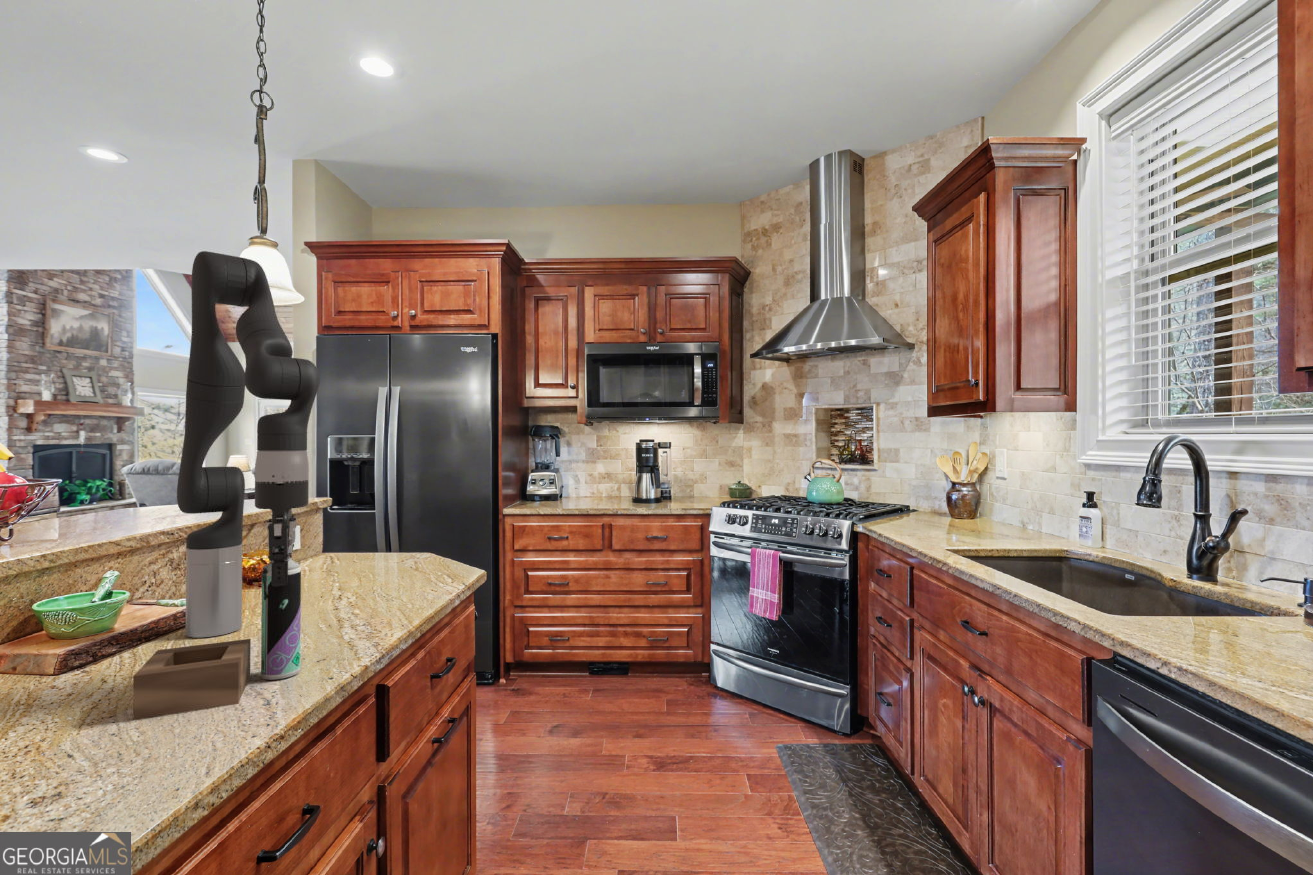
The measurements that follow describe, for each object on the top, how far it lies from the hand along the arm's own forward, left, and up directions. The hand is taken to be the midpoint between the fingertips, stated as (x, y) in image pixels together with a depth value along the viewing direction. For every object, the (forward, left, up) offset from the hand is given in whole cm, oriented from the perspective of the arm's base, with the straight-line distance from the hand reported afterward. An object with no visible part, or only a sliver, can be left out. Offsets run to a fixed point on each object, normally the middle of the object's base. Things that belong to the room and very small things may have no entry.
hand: (281, 581), depth 100 cm
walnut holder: (+4, -10, -15) cm, 19 cm away
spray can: (0, 0, -15) cm, 15 cm away
